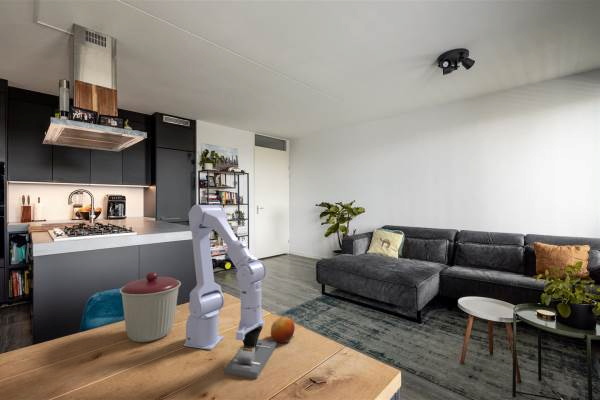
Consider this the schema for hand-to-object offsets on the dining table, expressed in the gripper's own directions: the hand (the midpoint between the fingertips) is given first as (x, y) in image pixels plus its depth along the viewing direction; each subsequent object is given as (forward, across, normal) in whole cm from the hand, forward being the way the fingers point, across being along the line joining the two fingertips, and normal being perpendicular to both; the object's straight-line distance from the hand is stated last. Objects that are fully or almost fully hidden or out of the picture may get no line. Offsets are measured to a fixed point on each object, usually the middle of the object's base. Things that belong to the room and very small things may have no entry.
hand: (250, 353), depth 75 cm
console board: (+2, +2, 0) cm, 3 cm away
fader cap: (+1, -3, 0) cm, 3 cm away
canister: (+3, +7, +39) cm, 40 cm away
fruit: (+3, +15, -5) cm, 16 cm away
